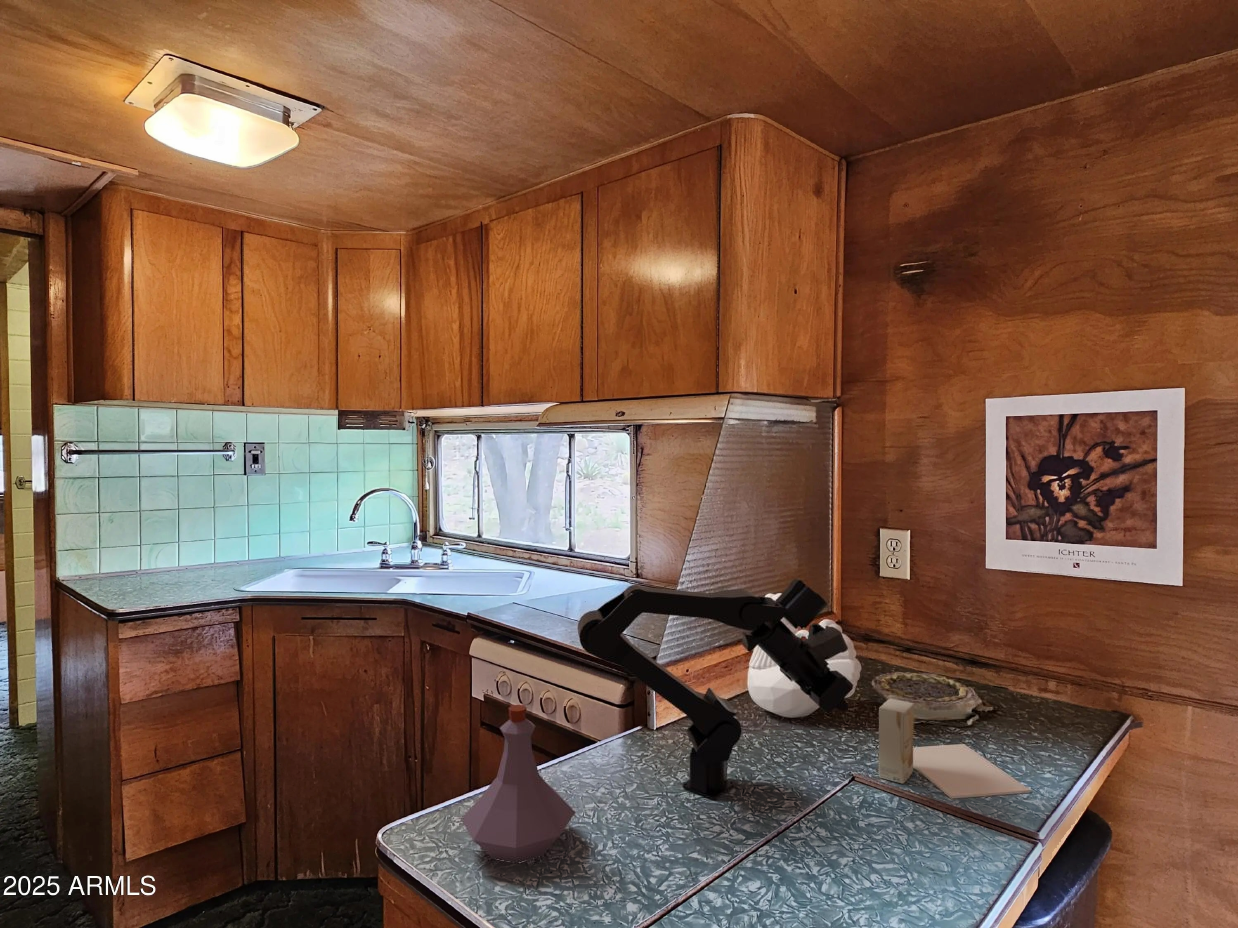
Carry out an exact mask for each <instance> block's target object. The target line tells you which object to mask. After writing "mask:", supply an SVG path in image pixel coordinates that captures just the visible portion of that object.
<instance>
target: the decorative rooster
mask: <svg viewBox="0 0 1238 928" xmlns="http://www.w3.org/2000/svg"><path fill="white" fill-rule="evenodd" d="M782 593H783V592H782ZM782 593H780V592H778V593H775V594H774V593H767V594H766V595H765V596H764V597H770V598H772V599H773V600H776V599H777V598H778V597H779V596H780V595H781V594H782ZM781 621H782V622H783V623H784V624H785V625H786V626H787V627H788V628H789V629H790V630H791V631H792V632H793V633H794V634H795V635H796V636H797V637H800V638H801V639H802V637H804V638H805V639H808V637H807V636H808V635H809V630H807V629H800V630H799V627H798V628H797V629H795V628H793V627H792V626H791V625H790V624H789V623H788V622H787V621H786V620H785V619H784V618H782V619H781ZM818 624H819V625H821V626H822V627H823V628H824V629H825V628H826V627H825V626H829V627H834V628H836V629H837V630H839V631H840V632H841V633H842V636H843V638H844V640H845V642H846V645H847V647H848V650H847V651H845V652H843V653H842V652H841V653H839V654H837V655H835V656H833V657H832V658H830V659H827V660H825V661H826V662H827V663H828V665H827V667H829V668H830V671H838V672H839V673H841V674H842V675H843V676H845V677H846V678H847V679H848V680H849V681H850V682H851V683H852V684H853V689H852V690H851V691H850V692H849V693H848V694H847V695H846V696H845V698H844V699H847V698H849V697H852V695H853V694H854V693H855V691H856V687H857V685H858V680H860V677H861V671H862V665H861V662H860V661H859V660H858V658H856V657H857V650H855V646H854V645H855V644H854V642H853V641H852V639H851V638H850V637H849V636H848V635H847V634H845V633H843V628H842V627H841V625H839V624H837V623H836V622H835V621H834V620H832V619H827V618H825V619H823V620H822V621H820V622H819V623H818ZM752 651H753V652H752V654H751V657H750V660H749V663H748V670H747V671H748V672H747V689H748V693H749V696H750V697H751V699H752V700H753V702H754V703H755V704H756V705H757V706H759V707H760V708H762V709H764V710H765V711H767V712H771V713H773V714H775V715H777V716H781V717H785V718H789V719H790V718H791V719H792V718H803V717H804V718H806V717H807V716H809V715H811V714H812V713H814V712H815V711H816V710H817V709H819V708H820V707H819V706H818V705H817V704H816V703H815V702H814V701H813V700H812V699H811V698H810V697H809V695H807V694H805V693H804V692H803V691H802V690H801V689H800V686H799V685H798V684H796V683H795V682H794V681H792V682H791V681H790V680H789V679H788V678H787V677H786V676H785V675H784V674H783V673H782V672H781V671H780V667H779V666H778V665H777V664H776V663H775V662H774V661H773V660H772V659H771V658H770V657H769V656H768V655H767V654H766V653H765V652H764V651H763V650H762V649H761V648H760V647H759V646H758V645H757V646H756V647H755V648H754V649H753V650H752Z"/></svg>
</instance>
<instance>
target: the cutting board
mask: <svg viewBox="0 0 1238 928" xmlns="http://www.w3.org/2000/svg"><path fill="white" fill-rule="evenodd" d="M913 769H914V770H916V771H917V772H919V774H921V775H922V776H923V777H925V778H926V779H927V780H928V781H930V782H931V783H932V784H933V785H934V786H935V787H937V788H938V789H939V790H940V791H942V793H944V794H945V795H946V796H947V797H948V798H950V799H953V800H954V799H962V798H963V799H964V798H977V797H979V798H980V797H989V796H990V797H991V796H1001V795H1005V796H1006V795H1015V794H1027V793H1029V794H1030V793H1031V789H1030V788H1028V787H1027V786H1025V785H1024V784H1023V783H1022V782H1020V781H1018V780H1016V779H1015V778H1013V777H1012V776H1011V775H1010V774H1008V773H1006V772H1005V771H1004V770H1002V769H1001V768H1000V767H998V766H996V765H995V764H993V763H992V762H990V761H989V760H988V759H987V758H985V757H983V756H982V755H980V754H979V753H978V752H976V751H975V750H973V749H972V748H970V747H969V746H967V745H966V744H964V743H962V744H961V743H959V744H945V745H930V746H928V745H927V746H915V747H914V746H913Z"/></svg>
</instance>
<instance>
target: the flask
mask: <svg viewBox="0 0 1238 928" xmlns="http://www.w3.org/2000/svg"><path fill="white" fill-rule="evenodd" d="M507 709H508V714H509V715H508V716H509V719H508V720H507V721H506V722H505V723H504V724H502V725H501V726H500V727H499V729H500V731H501V734H502V735H503V737H504V745H503V752H502V756H501V760H500V764H499V768H498V770H497V771H498V772H497V775H496V777H495V778H494V780H493V781H492V782H491V783H490V785H489V786H488V787H487V788H486V790H485V791H484V793H483V794H482V795H481V796H480V797H479V798H478V799H477V800H476V801H475V802H474V804H472V806H471V807H470V808H469V809H468V810H467V811H466V812H465V814H463V815H462V817H461V818H460V820H461V822H462V824H463V826H464V827H465V829H466V831H467V832H468V834H469V836H470V837H471V839H472V841H473V842H475V844H476V845H478V846H479V848H480V849H482V850H483V851H484V852H485V853H486V854H487V855H488V856H490V858H491V859H493V858H495V859H499V860H504V861H510V862H514V863H513V864H515V863H519V862H522V861H525V860H529V859H532V860H534V859H533V858H536V857H539V856H542V855H543V856H544V855H545V854H546V852H547V851H548V850H549V849H550V848H551V846H552V845H553V844H554V843H555V842H556V840H558V838H559V837H560V836H561V834H562V833H563V831H564V830H565V828H566V827H567V826H568V825H569V823H570V822H571V820H572V819H573V817H574V816H575V814H576V810H574V809H573V808H572V807H571V805H570V804H569V803H568V802H567V801H566V800H565V799H564V798H563V797H562V796H561V794H560V793H558V792H557V791H556V790H555V789H554V788H553V787H552V786H551V785H549V783H547V781H545V779H544V778H543V777H542V776H541V775H540V772H539V769H538V766H537V762H536V759H535V755H534V752H533V748H532V738H531V737H532V735H533V733H534V731H535V728H536V725H535V724H534V723H533V722H532V721H530V720H529V719H527V718H526V716H527V715H526V714H527V706H525V705H524V704H515V705H511V706H509V707H508V708H507ZM543 856H542V857H543ZM539 858H540V857H539ZM536 859H537V858H536ZM499 860H498V861H499ZM504 861H503V862H504ZM529 861H530V860H529ZM510 862H509V863H510ZM522 863H523V862H522ZM519 864H520V863H519Z"/></svg>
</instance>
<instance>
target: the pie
mask: <svg viewBox="0 0 1238 928" xmlns="http://www.w3.org/2000/svg"><path fill="white" fill-rule="evenodd" d="M871 680H872V681H871V683H870V684H871V685H872V688H873V689H874V691H875V692H876V693H877V694H878V695H879V696H880V697H881V702H882V705H883V704H884V703H885V702H886V701H887V700H888V699H890V698H891V699H896V700H900V701H905V702H909V703H914V721H913V724H919V723H920V721H917V720H918V719H919V720H927V721H949V720H963V719H964V720H965V719H966V718H968V717H969V718H970V717H971V716H973V717H971V718H970V719H968V720H966V723H967V725H966V727H967V726H971V725H972V724H973V722H975V721H976V720H978V719H980V718H979V715H978V714H976V712H972V710H974V711H977V712H988V711H992V710H994V708H995V707H994V706H992V704H990V703H989V702H988V701H986V700H983V699H981V698H980V697H979V696H978V694H977V692H976V691H975V690H974V688H973V687H971V686H966V685H965V684H963V683H960V682H957V681H955V679H954V678H953V679H951V678H949V679H948V678H947V677H945V676H942V675H938V674H937V673H926V672H924V673H917V672H910V671H907V672H901V671H900V672H899V671H896V672H891V673H889V672H887V673H883V674H880V675H879V676H878V675H877V676H875V678H873V679H871ZM983 703H984V704H985V705H983ZM877 714H878V715H879V712H877ZM927 721H924V723H927V724H930V725H931V724H932V725H937V723H935V722H927ZM938 725H939V726H940V725H941V726H942V725H943V726H946V724H945V723H944V724H943V723H938ZM949 726H951V727H953V725H951V724H949ZM957 727H962V728H963V727H965V725H964V726H963V725H961V726H959V725H956V728H957Z"/></svg>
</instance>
